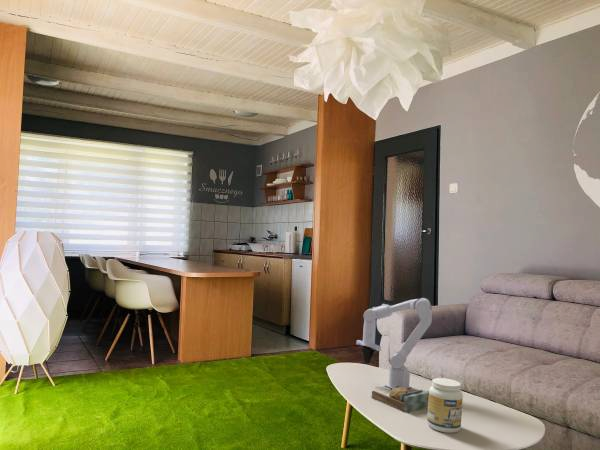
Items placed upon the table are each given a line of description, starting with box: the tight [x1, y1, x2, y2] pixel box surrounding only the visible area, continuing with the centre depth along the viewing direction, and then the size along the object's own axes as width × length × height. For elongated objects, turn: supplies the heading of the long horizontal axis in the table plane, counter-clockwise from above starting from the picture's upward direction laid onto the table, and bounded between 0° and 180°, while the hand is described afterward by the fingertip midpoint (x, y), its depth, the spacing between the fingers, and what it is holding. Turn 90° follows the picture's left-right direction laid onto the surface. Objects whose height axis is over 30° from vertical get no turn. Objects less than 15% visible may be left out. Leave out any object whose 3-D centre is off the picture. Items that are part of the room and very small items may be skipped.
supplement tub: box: [426, 377, 464, 434], centre depth 182 cm, size 12×12×17 cm
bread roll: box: [388, 387, 411, 401], centre depth 208 cm, size 10×10×8 cm
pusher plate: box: [400, 389, 424, 403], centre depth 204 cm, size 13×1×6 cm, turn 127°
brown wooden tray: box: [371, 386, 429, 413], centre depth 208 cm, size 16×19×6 cm
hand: (367, 362), depth 233 cm, fingers closed
